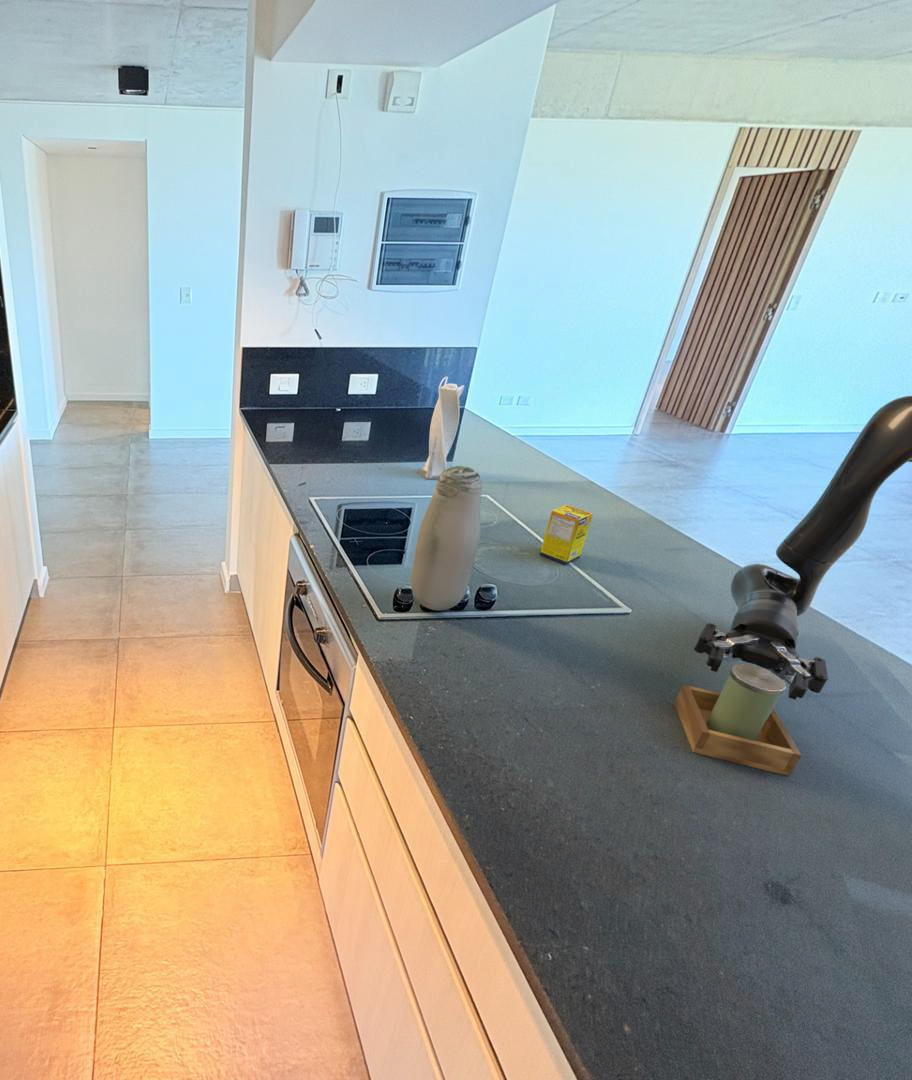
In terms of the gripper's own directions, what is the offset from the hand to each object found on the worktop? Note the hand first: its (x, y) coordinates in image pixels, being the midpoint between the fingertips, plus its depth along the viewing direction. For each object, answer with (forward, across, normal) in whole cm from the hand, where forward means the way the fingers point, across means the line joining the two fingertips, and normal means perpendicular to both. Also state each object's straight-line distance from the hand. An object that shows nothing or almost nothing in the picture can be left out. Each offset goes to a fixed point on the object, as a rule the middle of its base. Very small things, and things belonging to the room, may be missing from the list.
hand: (754, 679), depth 86 cm
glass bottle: (-2, +45, -9) cm, 46 cm away
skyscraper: (-71, +76, -9) cm, 105 cm away
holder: (+3, 0, -9) cm, 9 cm away
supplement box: (-40, +34, -9) cm, 53 cm away
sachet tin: (+3, 0, -8) cm, 8 cm away
